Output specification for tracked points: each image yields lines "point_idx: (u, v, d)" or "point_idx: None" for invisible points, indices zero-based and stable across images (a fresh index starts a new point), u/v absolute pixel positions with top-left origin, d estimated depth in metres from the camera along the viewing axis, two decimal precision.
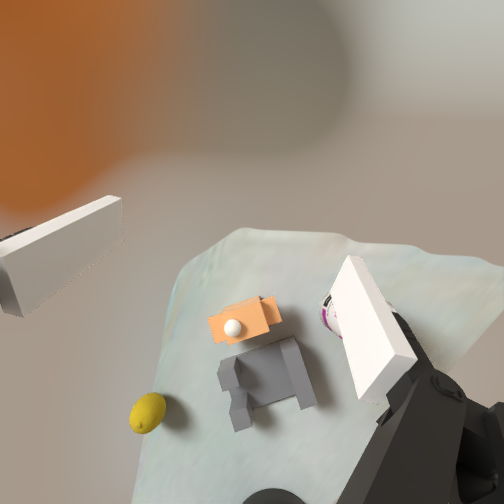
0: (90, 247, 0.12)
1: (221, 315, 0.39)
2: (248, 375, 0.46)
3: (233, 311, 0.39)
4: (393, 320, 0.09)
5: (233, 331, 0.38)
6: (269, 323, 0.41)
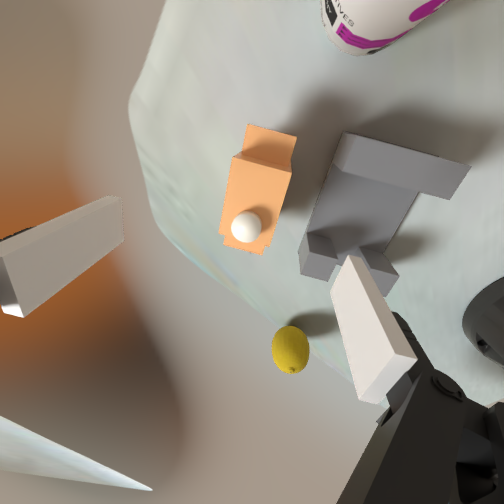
0: (90, 247, 0.12)
1: (221, 229, 0.23)
2: (340, 232, 0.30)
3: (225, 209, 0.22)
4: (393, 320, 0.09)
5: (250, 230, 0.21)
6: (285, 162, 0.22)
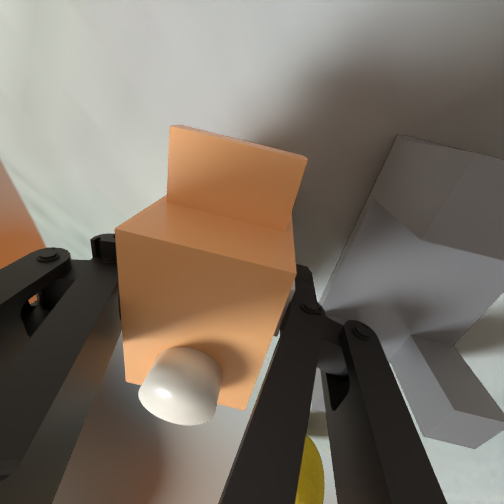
0: None
1: (130, 376, 0.10)
2: (380, 313, 0.17)
3: (128, 343, 0.09)
4: None
5: (189, 407, 0.08)
6: (279, 221, 0.09)
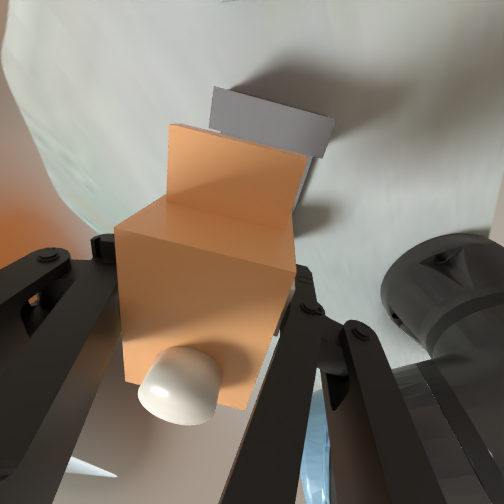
0: None
1: (130, 376, 0.10)
2: None
3: (128, 342, 0.09)
4: None
5: (189, 407, 0.08)
6: (279, 220, 0.09)
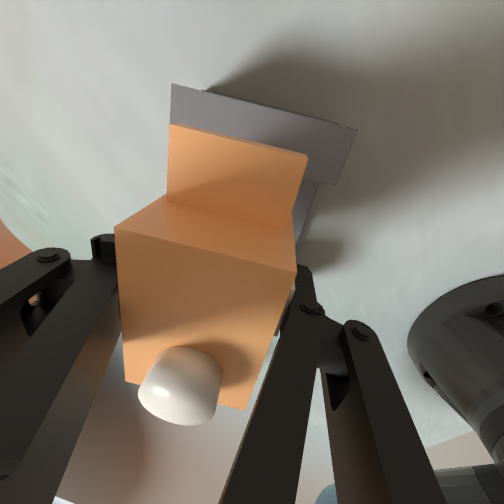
0: None
1: (130, 376, 0.10)
2: None
3: (128, 342, 0.09)
4: None
5: (189, 407, 0.08)
6: (279, 220, 0.08)
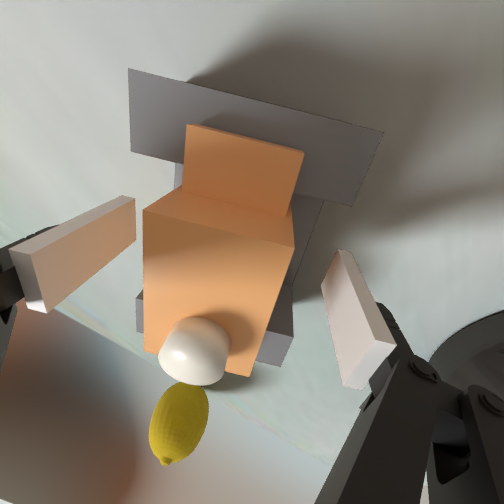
0: (106, 246, 0.12)
1: (148, 346, 0.11)
2: None
3: (148, 314, 0.10)
4: (376, 309, 0.10)
5: (202, 367, 0.09)
6: (279, 207, 0.10)
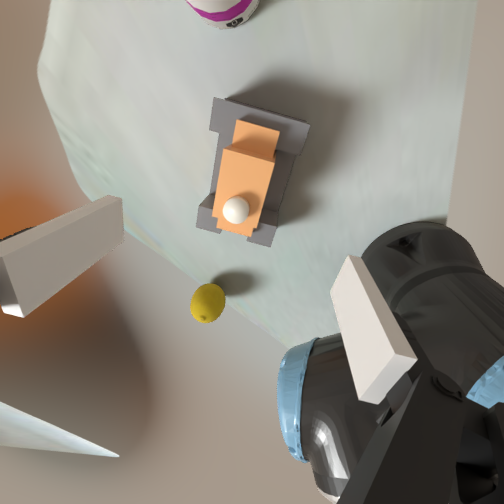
0: (90, 247, 0.12)
1: (214, 213, 0.26)
2: None
3: (217, 195, 0.25)
4: (393, 320, 0.09)
5: (239, 213, 0.24)
6: (270, 153, 0.25)
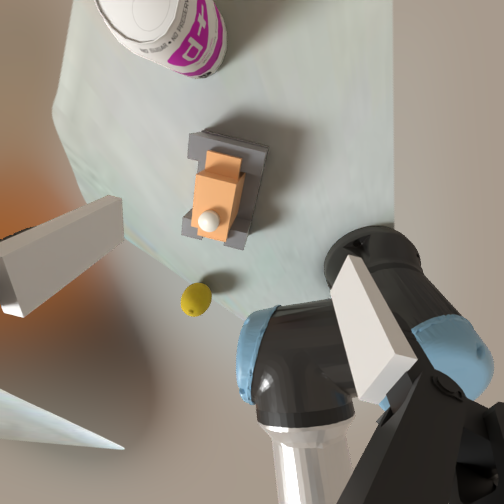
0: (90, 247, 0.12)
1: (192, 223, 0.32)
2: None
3: (194, 209, 0.31)
4: (393, 320, 0.09)
5: (211, 223, 0.31)
6: (235, 176, 0.31)
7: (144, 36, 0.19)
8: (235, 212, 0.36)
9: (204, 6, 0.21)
